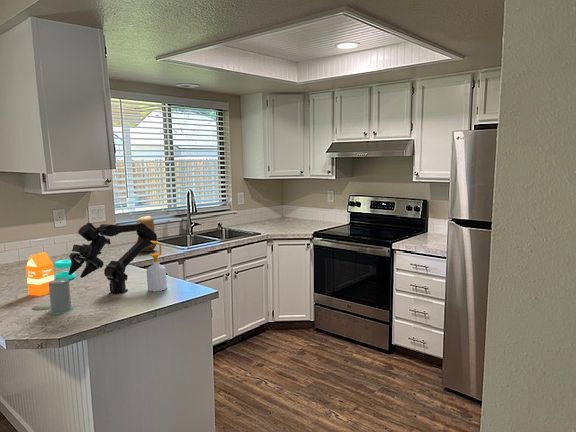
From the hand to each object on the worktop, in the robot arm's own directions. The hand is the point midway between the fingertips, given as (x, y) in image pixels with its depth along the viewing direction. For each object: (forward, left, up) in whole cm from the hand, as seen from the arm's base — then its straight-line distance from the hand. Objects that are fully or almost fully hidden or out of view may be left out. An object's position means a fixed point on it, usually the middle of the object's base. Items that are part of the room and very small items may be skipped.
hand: (75, 276), depth 192 cm
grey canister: (+3, +7, -13) cm, 15 cm away
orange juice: (+30, -15, -14) cm, 36 cm away
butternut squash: (+24, -110, -14) cm, 113 cm away
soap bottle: (-25, -27, -14) cm, 39 cm away
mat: (+13, +4, -13) cm, 19 cm away
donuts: (+36, -40, -14) cm, 55 cm away
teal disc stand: (+3, +7, -14) cm, 15 cm away
